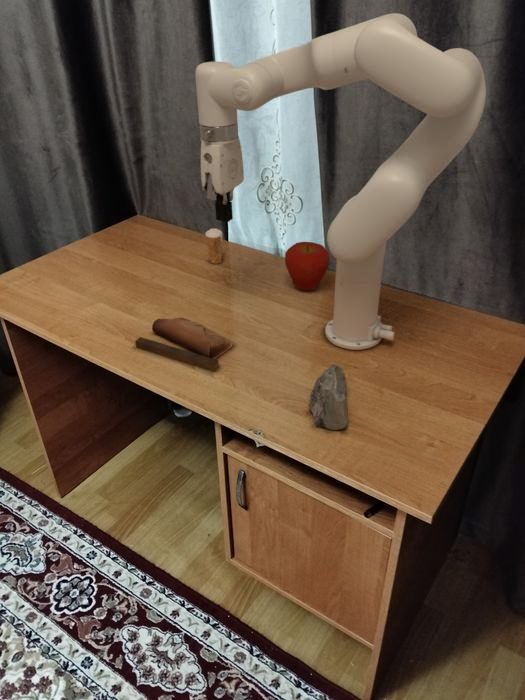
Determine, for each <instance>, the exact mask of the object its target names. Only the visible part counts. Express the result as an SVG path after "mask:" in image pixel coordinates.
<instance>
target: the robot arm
mask: <svg viewBox="0 0 525 700" xmlns="http://www.w3.org/2000/svg"><path fill="white" fill-rule="evenodd" d="M417 31H418V30H417V29H416V26H415V24H414V23H413V21H412V20H411V19H410V18H409V17H408V16H406V15H405V14H402V13H397V12H396V13H395V12H393V13H392V12H391V13H387V14H384V15H381V16H378V17H374V18H371V19H368V20H365V21H363V22H359V23H357V24H354V25H350V26H347V27H345V28H342V29H337V30H336V31H332V32H330V33H326V34H323V35H320V36H318V37H315V38H312V39H311V40H309V41H308V42H305V43H302V44H301V45H297V46H294V47H291V48H288V49H286V50H282V51H279V52H276V53H273V54H270V55H267V56H264V57H261V58H258V59H255V60H253V61H251V62H249V63H247V64H244V65H241V66H238V67H235V66H233V65H232V63H230V62H227V61H207V62H202V63H200V64H198V65H197V66H196V68H195V71H194V73H195V77H194V78H195V87H196V90H195V91H196V100H197V112H198V113H197V114H198V125H199V137H200V142H201V143H200V180H201V181H200V182H201V187H202V190H203V192H205V193H206V200H207V201H210V202H211V201H212V202H213V204H214V207H215V219H216V221H218V222H219V221H220V222H225V223H229V222H230V221H232V220H233V202H232V201H233V200H234V190H235V189H236V187H238V186H240V185H241V184H242V183H243V182H244V179H245V171H244V160H243V151H242V145H241V140H240V136H239V126H238V122H239V121H238V111H242V112H253V111H256V110H257V109H260V108H261V107H263V106H264V105H266V104H267V103H269V102H271V101H272V100H274V99H277V98H280V97H283V96H285V95H289V94H292V93H296V92H300V91H304V90H307V89H313V88H314V89H315V88H318V89H321V90H323V91H328V90H329V91H330V90H334V89H337V88H340V87H344V86H347V85H350V84H354V83H357V82H361V81H364V80H365V81H366V80H368V79H369V80H370V81H371V82H372V83H374V84H376V85H377V86H379V87H380V88H382V89H383V90H385V91H387V92H388V93H390V94H392V95H393V96H395V97H397V98H399V99H400V100H402V101H403V102H405V103H406V104H408V105H411V107H413V108H415V109H417V110H418V111H421V112H422V113H424V114H425V115H426V116H425V117H424V118H423V119H422V121H420V123H418V124H417V126H416V127H415V129H414V130H413V131H412V132H411V134H410V135H409V136H408V137H407V139H405V140H404V142H403V143H402V144H401V145H400V146H399V147H398V148H397V149H396V150H395V151H394V152H393V154H392V155H390V156H389V157H388V158H387V159H386V160H384V162H383V163H381V164H380V166H379V167H377V169H376V170H375V172H374V173H373V175H372V176H371V178H370V179H369V180H368V181H367V183H366V184H365V185H364V186H363V188H362V189H361V190H360V191H359V192H358V193H357V194H356V195H354V196H352V197H351V198H350V199H348V200H347V201H346V202H345V204H343V206H342V208H341V209H339V211H338V213H337V215H336V216H335V218H334V219H333V220H332V222H331V223H330V225H329V226H328V230H327V234H326V244H327V248H328V250H329V252H330V253H331V255H332V256H333V257H334V258H335V259H336V265H335V278H334V279H335V281H334V297H333V312H332V314H333V315H332V319H331V320H330V321H328V322H327V324H326V325H325V330H324V333H325V337H326V338H327V339H326V340H328V341H329V342H330V343H331V344H333V345H334V346H337V347H339V348H341V349H346V350H353V351H361V350H367V349H370V348H373V347H375V346H377V345H378V344H379V343H380V342H381V341H382V339H384V340H388V341H394V340H395V337H396V331H393V325H389V324H383V322H382V321H381V320H382V316H381V315H379V314H378V313H379V305H380V297H381V296H380V295H381V288H382V287H381V286H382V277H383V271H384V263H385V255H386V248H387V243H388V241H389V240H390V239H391V238H392V237H393V236H394V235H395V234H396V233H397V232H398V231H399V230H400V229H401V228H402V227H404V225H405V224H406V223H407V222H408V221H409V220H410V218H411V217H412V216H413V215H414V213H415V212H416V210H417V209H418V207H419V205H420V203H421V201H422V199H423V197H424V195H425V193H426V190H427V189H428V188H429V186H430V185H431V184H432V183H433V182H434V181H435V180H436V179H437V177H438V176H439V175H441V173H442V172H443V171H444V170H445V169H446V168H447V167H448V166H449V165H450V163H451V162H452V161H453V160H454V159H455V158H456V157H457V156H458V155H459V154H460V152H461V151H462V150H463V149H464V148H465V146H466V145H467V144H468V143H469V141H470V140H471V138H472V137H473V136H474V133H475V131H476V130H477V128H478V126H479V123H480V121H481V119H482V116H483V114H484V113H483V112H484V110H485V104H486V99H487V98H486V97H487V85H486V77H485V74H484V69H483V66H482V64H481V61H480V60H479V58H478V57H477V56H476V54H474V53H473V52H472V51H470V50H468V49H466V48H460V47H455V48H449V49H447V50H445V51H442V50H440V49H438V48H437V47H434V46H433V45H431V44H430V43H427V42H426V41H424V40H423V39H421V38H420V37H418V32H417Z"/></svg>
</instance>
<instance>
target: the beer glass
mask: <svg viewBox="0 0 525 700" xmlns="http://www.w3.org/2000/svg"><path fill="white" fill-rule="evenodd" d="M203 233H204V235H205V240H206V244H207V245H206V246H207V250H208V251H207V252H208V258H209V262H210V263H211V264H220V263H221V262H222V261H223V232H222V230H221V229H218V228H210V229H209V230H206V232H205V231H203Z"/></svg>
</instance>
